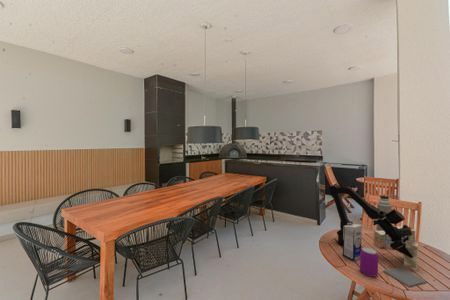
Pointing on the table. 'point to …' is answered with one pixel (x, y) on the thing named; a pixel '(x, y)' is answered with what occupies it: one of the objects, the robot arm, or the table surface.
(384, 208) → the thermos bottle
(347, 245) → the milk carton
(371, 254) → the beverage can
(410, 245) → the birch block
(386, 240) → the stack of blocks
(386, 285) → the table surface
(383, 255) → the table surface
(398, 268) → the charcoal board
